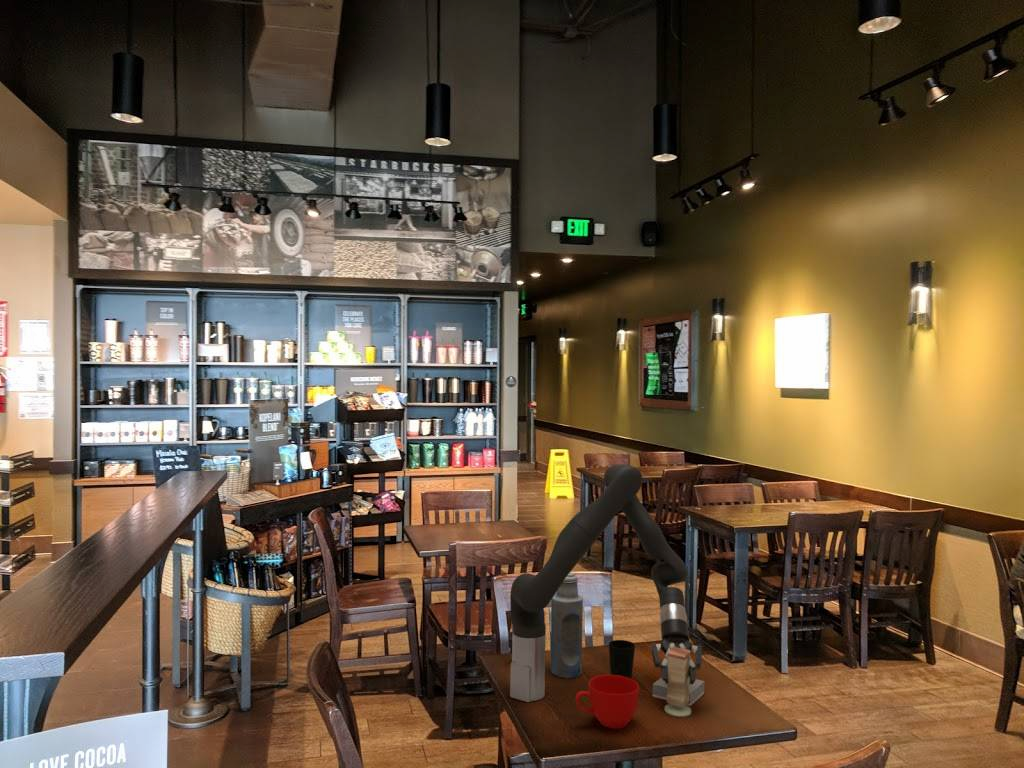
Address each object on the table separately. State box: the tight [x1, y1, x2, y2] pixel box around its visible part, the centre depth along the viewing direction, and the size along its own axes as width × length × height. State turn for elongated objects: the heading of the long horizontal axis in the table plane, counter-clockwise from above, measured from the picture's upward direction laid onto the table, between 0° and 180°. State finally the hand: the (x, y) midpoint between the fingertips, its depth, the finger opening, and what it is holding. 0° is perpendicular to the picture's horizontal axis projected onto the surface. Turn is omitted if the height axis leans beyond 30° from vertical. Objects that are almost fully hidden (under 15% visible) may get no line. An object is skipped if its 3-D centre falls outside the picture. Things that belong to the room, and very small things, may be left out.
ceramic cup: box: [575, 674, 640, 730], centre depth 191 cm, size 13×17×10 cm
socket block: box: [652, 676, 705, 707], centre depth 210 cm, size 11×11×3 cm
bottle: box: [549, 571, 584, 679], centre depth 226 cm, size 10×10×30 cm
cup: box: [608, 639, 636, 680], centre depth 216 cm, size 8×8×12 cm
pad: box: [664, 703, 692, 718], centre depth 199 cm, size 7×7×1 cm
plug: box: [666, 647, 692, 707], centre depth 200 cm, size 5×5×14 cm
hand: (679, 682), depth 198 cm, fingers closed on plug, 6 cm apart
